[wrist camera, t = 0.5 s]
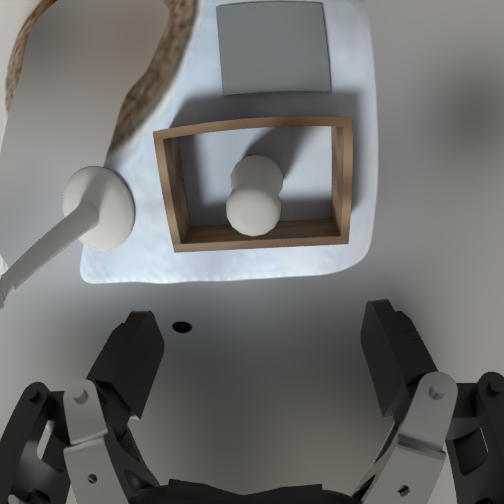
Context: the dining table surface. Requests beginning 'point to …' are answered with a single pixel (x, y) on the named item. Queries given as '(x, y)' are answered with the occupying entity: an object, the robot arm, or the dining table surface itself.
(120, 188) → the candlestick
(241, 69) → the grey mat
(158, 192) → the dining table surface
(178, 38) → the dining table surface
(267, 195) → the salt shaker
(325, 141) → the dining table surface
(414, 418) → the robot arm
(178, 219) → the frame
